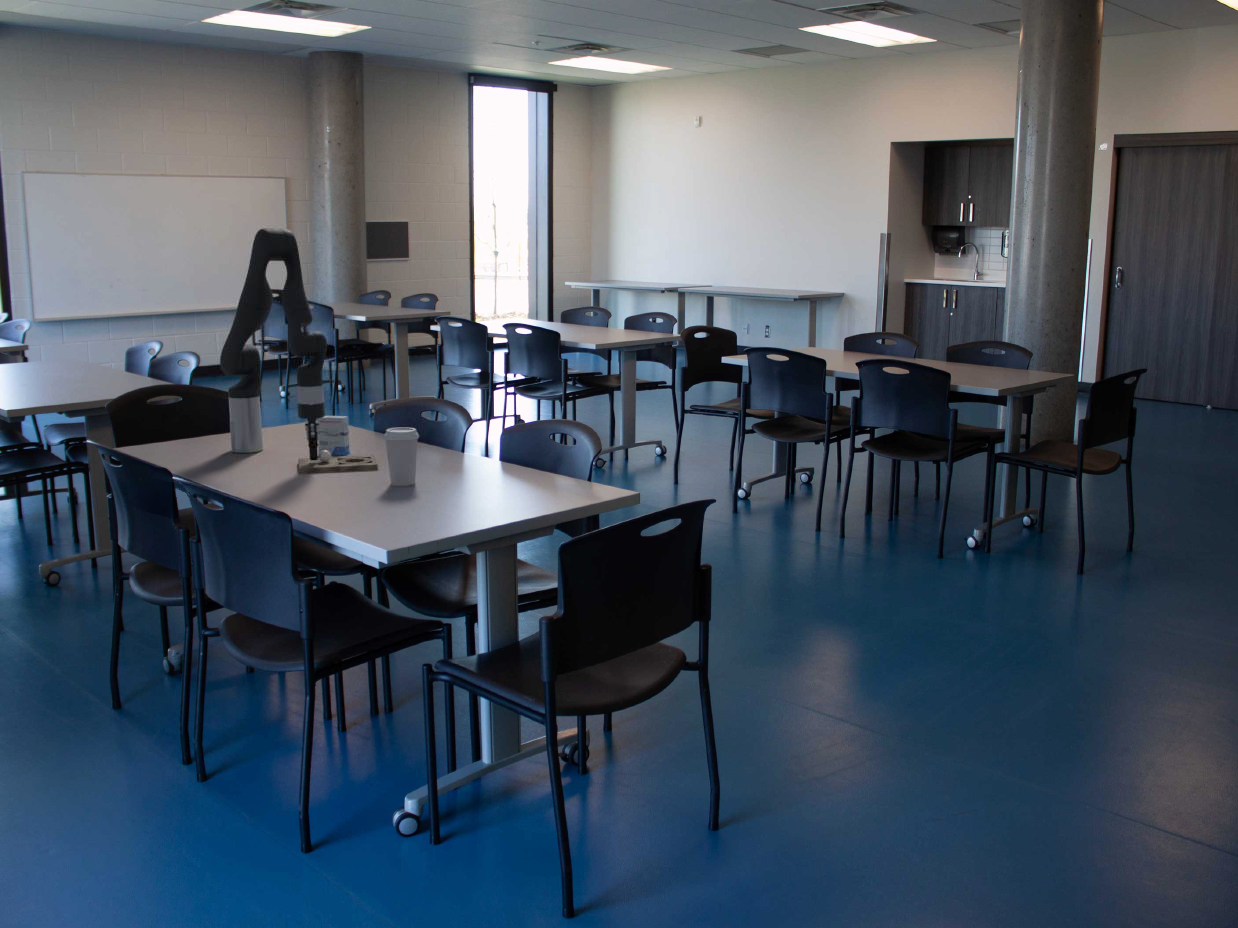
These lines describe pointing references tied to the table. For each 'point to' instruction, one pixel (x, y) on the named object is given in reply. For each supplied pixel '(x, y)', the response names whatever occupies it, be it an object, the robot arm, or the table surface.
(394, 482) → the coffee cup
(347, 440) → the ink box
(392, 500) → the table surface
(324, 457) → the ball
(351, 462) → the wooden board
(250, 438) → the robot arm
